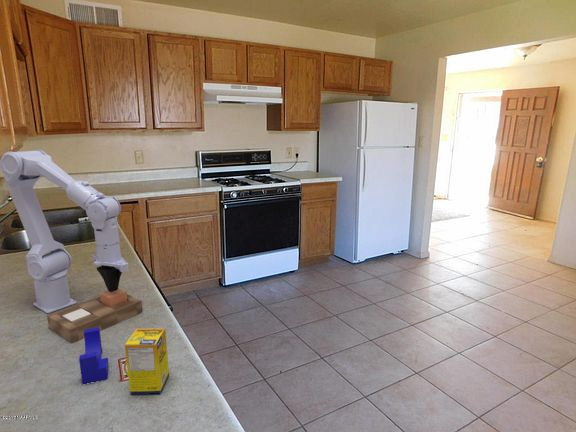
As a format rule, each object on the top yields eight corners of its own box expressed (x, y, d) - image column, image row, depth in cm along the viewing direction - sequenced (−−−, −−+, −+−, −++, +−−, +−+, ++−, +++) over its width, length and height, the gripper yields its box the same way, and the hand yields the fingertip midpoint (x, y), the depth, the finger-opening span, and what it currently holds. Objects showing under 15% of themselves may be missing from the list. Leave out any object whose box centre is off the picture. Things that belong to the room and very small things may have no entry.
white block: (64, 328, 95) (62, 315, 94) (83, 320, 99) (81, 308, 98) (73, 334, 92) (71, 321, 91) (92, 326, 96) (91, 313, 95)
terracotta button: (101, 305, 102) (100, 293, 101) (117, 298, 106) (116, 287, 105) (110, 309, 100) (109, 297, 99) (127, 303, 103) (126, 291, 103)
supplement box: (169, 374, 77) (165, 327, 75) (161, 394, 72) (156, 344, 69) (140, 375, 77) (136, 327, 75) (129, 395, 71) (124, 344, 69)
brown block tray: (48, 327, 95) (46, 315, 94) (118, 300, 110) (117, 289, 110) (71, 343, 88) (69, 329, 88) (142, 312, 104) (141, 300, 103)
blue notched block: (107, 380, 76) (104, 354, 75) (82, 386, 74) (79, 359, 73) (109, 349, 87) (106, 325, 85) (87, 353, 85) (84, 329, 84)
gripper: (78, 241, 100) (84, 288, 103) (108, 252, 92) (113, 302, 95) (104, 235, 105) (109, 280, 108) (134, 245, 97) (138, 293, 100)
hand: (113, 290), depth 102 cm, fingers closed
